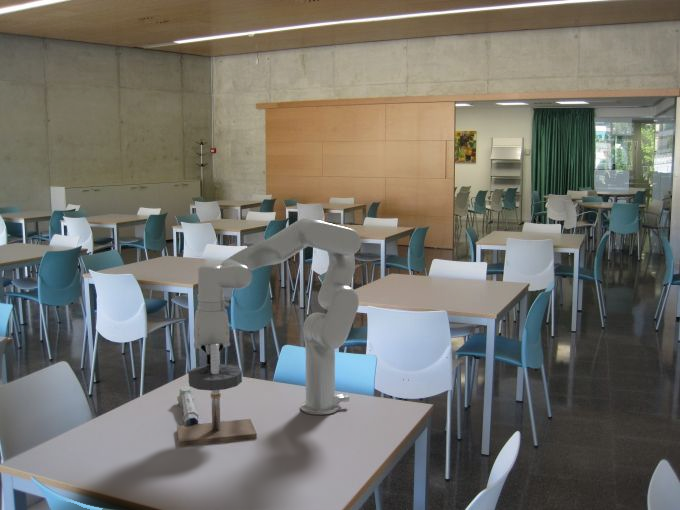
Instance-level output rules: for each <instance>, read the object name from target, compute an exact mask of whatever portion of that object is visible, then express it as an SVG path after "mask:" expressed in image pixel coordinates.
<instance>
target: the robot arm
mask: <svg viewBox="0 0 680 510" xmlns="http://www.w3.org/2000/svg"><path fill="white" fill-rule="evenodd" d="M361 238H362V237H361V236H360V233H359V232H358V231H356V230H355V229H354V228H349V227H345V226H342V225H337V224H333V223H330V222H326V221H323V220H319V219H314V218H311V217H310V218H308V217H305V218H300V219H299V220H296V221H295V222H293V223H291V224H290V225H287V226H286V227H285V228H284V229H282V230H280V231H278V232H277V233H275V234H273V235H272V236H269V237H268V238H266V239H264V240H262V241H259V242H257V243H255V244H253V245H252V244H251V245H250V246H247V247H245V248H242V249H241V250H239V251H237V252H236V253H234V254H233V255H231V256H229V257H227V258H225V259H224V260H223V261H222V262H221V263H220V264H216V263H208V264H207V263H206V264H202V265H200V266H199V267H198V271H197V274H198V277H197V279H198V280H197V283H198V284H197V286H198V287H197V288H198V291H197V292H198V294H197V295H198V299H197V300H198V309H197V310H195V314H194V325H193V326H194V327H193V331H194V332H193V337H194V338H193V339H194V342H193V348H194V349H199V350H202V351H204V353H206V365H209V366H210V368H211V353H210V344H211V343H218V344H219V352H221V351H222V350H223V349H224V348H227V347H230V346H231V342H230V325H229V317H228V311H227V308H226V307H230V301H227V300H225V289H230V290H241V289H245V288H247V287H248V286H249V285H250V284H251V282H252V281H253V272H252V271H254V270H256V269H259V268H262V267H266V266H273V265H278V264H281V263H284V262H286V261H287V260H288V259H290V258H292V257H293V256H294V255H296V254H298V253H299V252H301V251H302V250H304V249H307V247H310V248H314V249H318V250H321V251H324V252H327V254H328V265H327V266H328V267H327V270H326V274H325V276H324V278H323V281H322V284H321V287H320V289H319V292H318V295H317V301H318V304H319V305H320V307H321V308H323V309H324V310H326V311H327V312H326V313H323V312H313V313H311V314H309V315H308V316H307V317H306V318H305V320H304V322H303V326H302V333H303V341H304V349H305V401H303V402H302V403H301V404H300V410H301V411H302V412H304V413H306V414H309V415H314V416H315V415H317V416H319V415H320V416H323V415H331V414H334V413H336V412H337V411H340V408H341V407H340V403H347V402H349V401H350V396H349V395H344V394H341V393H340V394H336V381H335V380H336V377H335V376H336V352H335V350H337V349H339V348H341V347H342V346H343V345H344V344H345V342H346V340H347V339H348V336H349V335H350V332H351V329H352V327H353V326H352V325H353V323H354V320H355V318H356V315H357V314H358V313H357V312H358V308H359V296H358V293H357V292H356V290H355V289H353V287H351V284H352V283H351V282H352V280H353V277H354V273H355V269H356V260H355V254H356V253H358V252H359V250H360V249H361V246H362V239H361Z"/></svg>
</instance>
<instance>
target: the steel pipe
mask: <svg viewBox="0 0 680 510" xmlns="http://www.w3.org/2000/svg"><path fill="white" fill-rule="evenodd" d="M209 346H210V353H211V374H218V373H219V364H220V351H219V344H218V343H211V344H209ZM220 391H221V390H213V391H210V392H211V393H210V398H211V423H212V431H220V422H221V392H220Z"/></svg>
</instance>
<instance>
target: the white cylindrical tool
mask: <svg viewBox="0 0 680 510" xmlns="http://www.w3.org/2000/svg"><path fill="white" fill-rule="evenodd" d="M176 399H177V403H178V406H179V407H180V408H182V409H183V410H182V411H183V423H184V424H185V425H193V424H199V414H197V410H196V408H195V404H194V402H193V401H194V399H195V396H194V394H192V390H191V387H190V386H187V385H184V386H181V387H180V389H179V394H178V395H177V398H176Z"/></svg>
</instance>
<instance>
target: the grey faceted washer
mask: <svg viewBox="0 0 680 510" xmlns="http://www.w3.org/2000/svg"><path fill="white" fill-rule="evenodd" d="M187 373H188V385H189V386H188V387H190V388H193V389H196V390H198V391H200V390H201V391H210V392H211V391H213V390H220V391H222V390H228V389H232V388H235V387H238V386H239V385H240V384H241V383H242V382H243V372H242V369H241V368H240V367H239V366H234V365H232V364H220V363H219V373H218V374H211V368H210V366H209V364H205V365H202V366H201V365H200V366H197V367H193V368H192V369H190V370H189V371H188V372H187Z"/></svg>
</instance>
